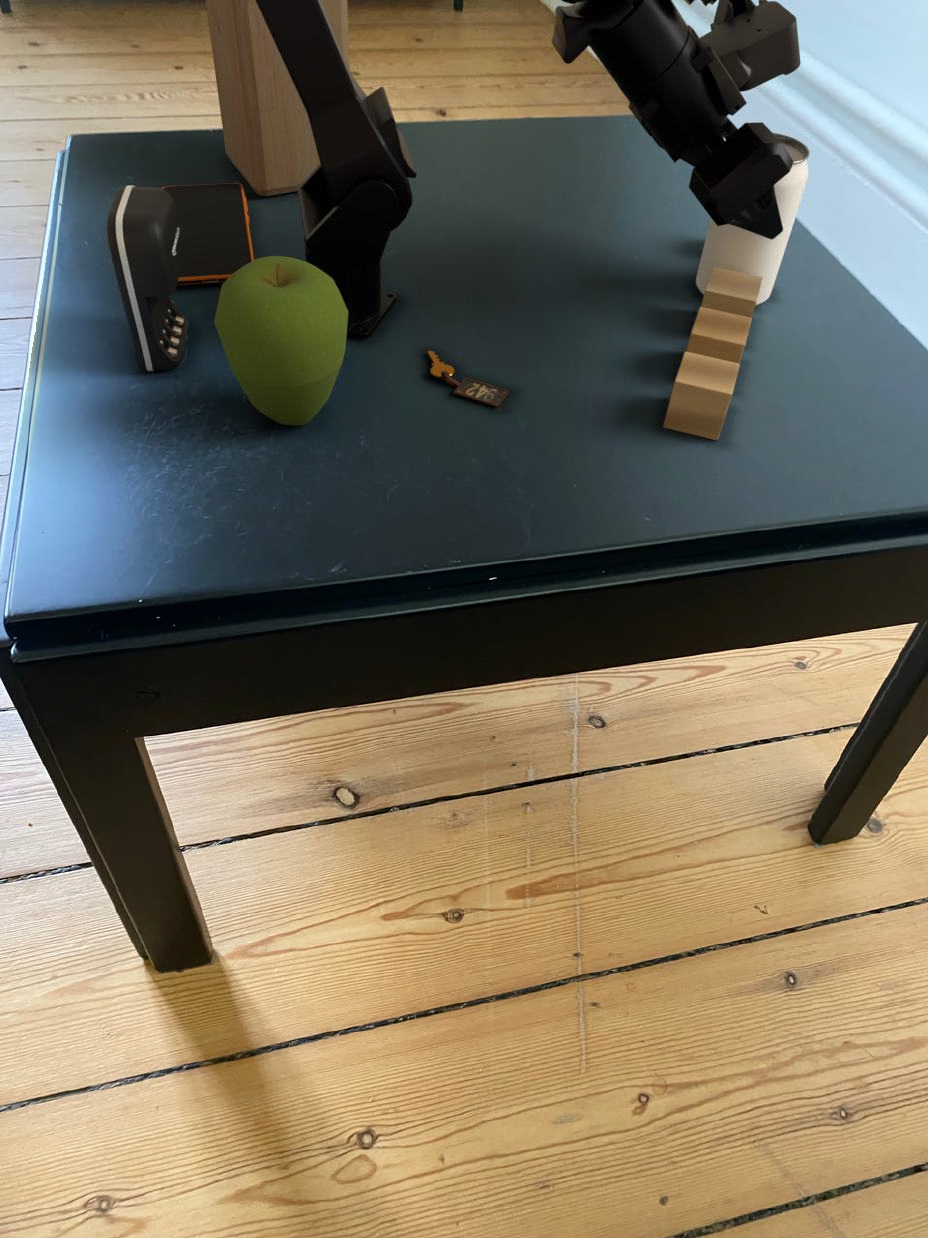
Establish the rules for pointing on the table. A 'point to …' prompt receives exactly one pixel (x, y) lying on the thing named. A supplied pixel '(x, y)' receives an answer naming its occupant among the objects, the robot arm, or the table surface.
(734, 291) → the block
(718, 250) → the can
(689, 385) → the block
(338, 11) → the wooden block
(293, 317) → the apple
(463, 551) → the table surface
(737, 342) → the block
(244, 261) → the smartphone
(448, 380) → the key tag
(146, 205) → the battery charger
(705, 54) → the robot arm
